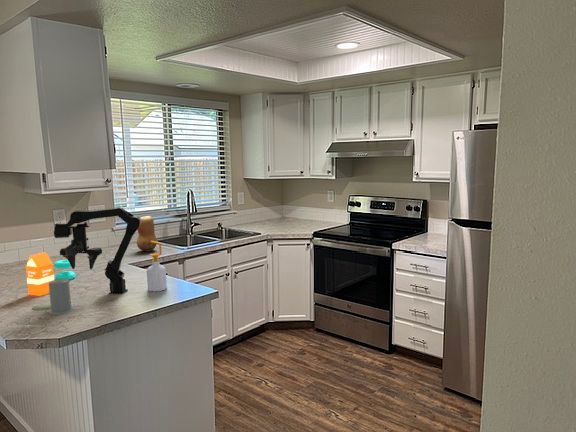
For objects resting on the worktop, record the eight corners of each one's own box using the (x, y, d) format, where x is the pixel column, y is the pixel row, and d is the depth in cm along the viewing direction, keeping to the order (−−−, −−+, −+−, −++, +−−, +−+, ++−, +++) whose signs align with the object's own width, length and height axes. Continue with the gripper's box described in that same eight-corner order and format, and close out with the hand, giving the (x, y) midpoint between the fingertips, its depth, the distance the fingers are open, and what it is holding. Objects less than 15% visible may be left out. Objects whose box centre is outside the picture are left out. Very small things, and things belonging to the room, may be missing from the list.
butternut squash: (133, 252, 303) (130, 216, 300) (149, 248, 314) (147, 214, 311) (146, 254, 296) (143, 218, 292) (161, 250, 306) (159, 215, 303)
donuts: (59, 264, 231) (50, 261, 236) (61, 282, 232) (51, 279, 238) (77, 260, 239) (68, 258, 244) (79, 277, 240) (69, 275, 246)
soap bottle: (147, 288, 218) (143, 240, 214) (165, 285, 221) (162, 238, 218) (148, 292, 210) (145, 243, 206) (168, 290, 213) (165, 241, 210)
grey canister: (73, 305, 192) (71, 278, 190) (67, 311, 184) (64, 283, 183) (55, 307, 191) (52, 279, 189) (48, 313, 183) (45, 284, 182)
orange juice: (28, 295, 211) (24, 255, 208) (44, 290, 219) (40, 251, 216) (40, 296, 208) (35, 256, 205) (55, 291, 216) (51, 252, 213)
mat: (62, 303, 196) (62, 303, 196) (46, 311, 187) (46, 310, 187) (43, 303, 198) (43, 302, 198) (26, 310, 188) (26, 310, 188)
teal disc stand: (79, 307, 192) (78, 299, 191) (63, 315, 182) (63, 307, 181) (59, 306, 193) (58, 298, 193) (42, 314, 184) (41, 306, 183)
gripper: (50, 239, 198) (53, 273, 200) (87, 240, 195) (89, 274, 197) (66, 235, 209) (69, 266, 211) (101, 236, 206) (104, 268, 208)
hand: (82, 269), depth 206 cm, fingers open, 9 cm apart
